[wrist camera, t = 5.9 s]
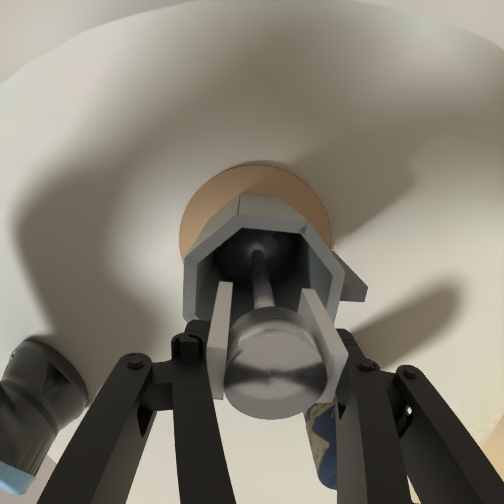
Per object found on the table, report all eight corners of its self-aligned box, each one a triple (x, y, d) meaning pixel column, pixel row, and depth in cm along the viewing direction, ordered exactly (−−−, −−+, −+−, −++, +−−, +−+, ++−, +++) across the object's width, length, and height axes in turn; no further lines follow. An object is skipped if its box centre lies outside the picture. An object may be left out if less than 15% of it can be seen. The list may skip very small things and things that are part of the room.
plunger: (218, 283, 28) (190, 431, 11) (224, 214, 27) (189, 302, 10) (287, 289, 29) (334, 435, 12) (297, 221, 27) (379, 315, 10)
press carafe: (178, 301, 34) (145, 379, 20) (185, 158, 30) (141, 155, 16) (315, 313, 35) (349, 391, 21) (338, 175, 30) (403, 186, 17)
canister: (301, 343, 36) (336, 460, 19) (370, 342, 36) (430, 441, 19) (290, 397, 39) (310, 506, 21) (352, 395, 39) (391, 491, 22)
